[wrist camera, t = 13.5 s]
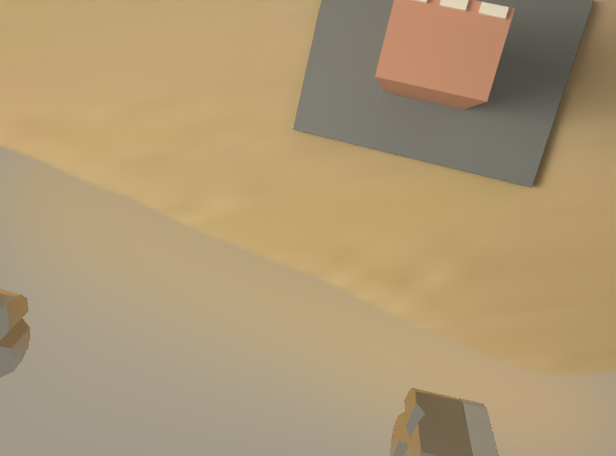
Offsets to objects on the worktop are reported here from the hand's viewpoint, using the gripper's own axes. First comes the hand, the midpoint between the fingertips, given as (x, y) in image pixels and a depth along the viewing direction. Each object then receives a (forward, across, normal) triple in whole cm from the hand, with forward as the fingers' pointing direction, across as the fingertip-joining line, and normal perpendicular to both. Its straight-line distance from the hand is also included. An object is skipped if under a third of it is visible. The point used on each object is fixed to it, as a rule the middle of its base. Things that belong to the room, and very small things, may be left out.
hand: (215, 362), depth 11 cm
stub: (+22, -6, -3) cm, 23 cm away
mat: (+23, -6, -3) cm, 24 cm away
